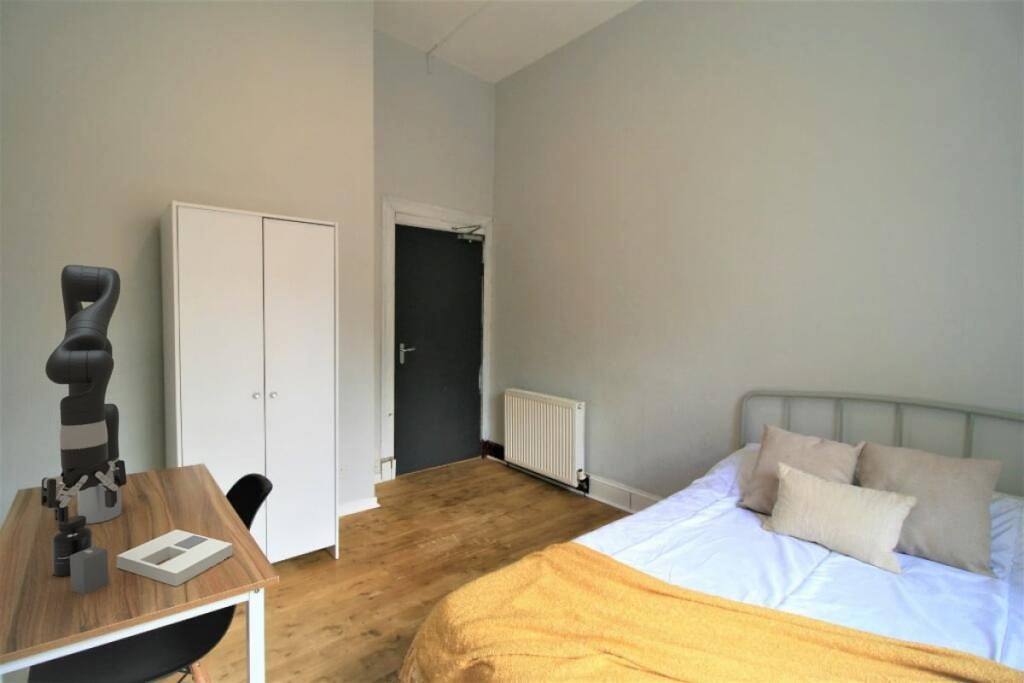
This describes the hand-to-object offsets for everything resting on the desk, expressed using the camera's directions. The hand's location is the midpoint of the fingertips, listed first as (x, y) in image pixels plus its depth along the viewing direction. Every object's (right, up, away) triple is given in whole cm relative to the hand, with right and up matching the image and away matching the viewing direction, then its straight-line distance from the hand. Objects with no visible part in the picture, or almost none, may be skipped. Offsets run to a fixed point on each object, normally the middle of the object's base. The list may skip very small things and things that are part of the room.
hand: (87, 514), depth 101 cm
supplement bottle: (-11, -16, +8) cm, 21 cm away
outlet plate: (+11, -16, +12) cm, 23 cm away
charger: (0, -17, +1) cm, 17 cm away
